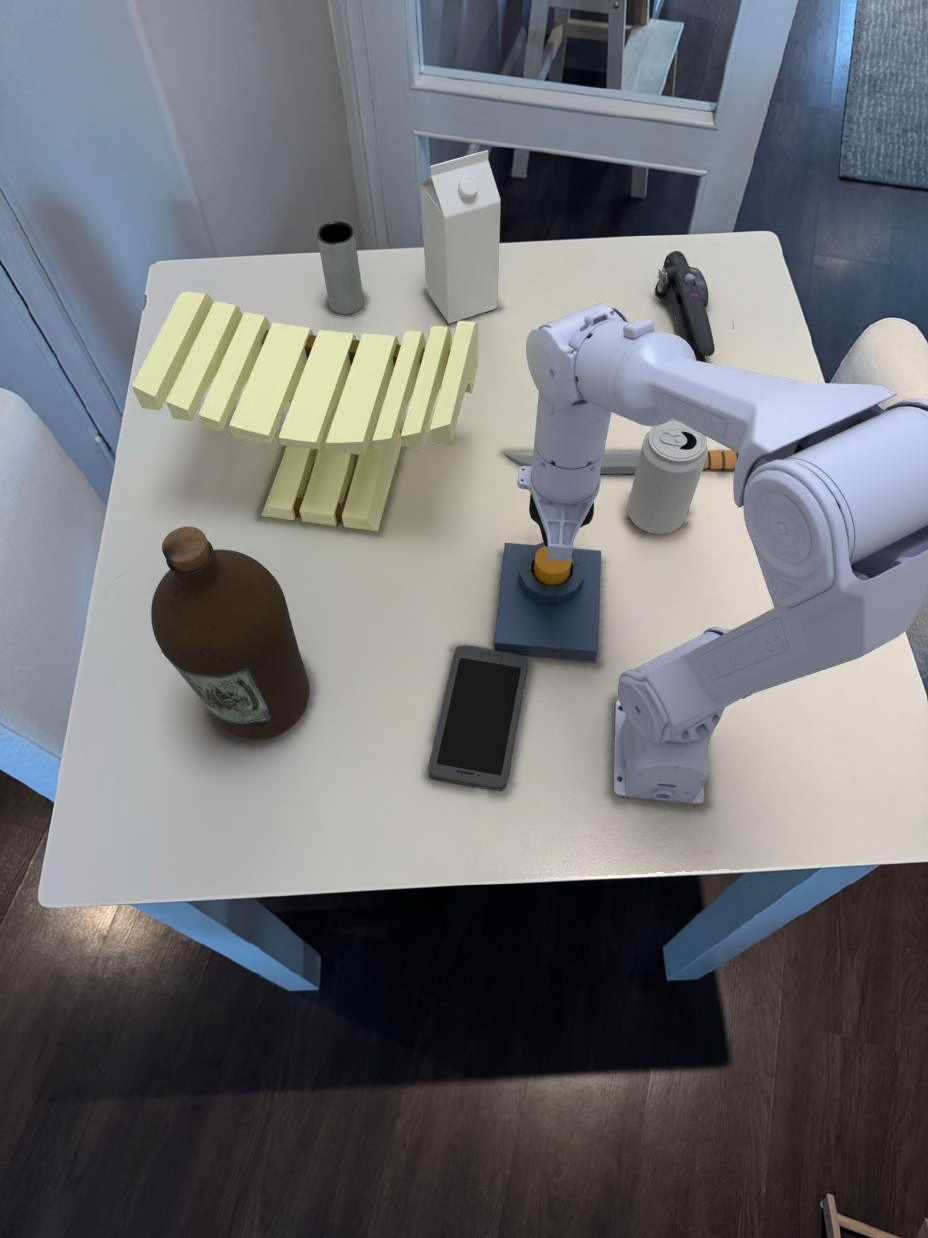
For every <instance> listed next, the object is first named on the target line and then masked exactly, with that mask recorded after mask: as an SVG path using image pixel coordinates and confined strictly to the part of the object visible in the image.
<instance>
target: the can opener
mask: <svg viewBox="0 0 928 1238" xmlns="http://www.w3.org/2000/svg"><path fill="white" fill-rule="evenodd" d="M656 278H657V279H659V280H658V281H657V283H656V285H655V288H654V295H655V296H656V297H657V299H658V300H660V301H661V302H664V303H665V304H668V305H669V306H670V308H671V310H672V313H673V315H674V320H675V323H676V327H677V331H678V334H679V335H678V336H679V337H681V338H682V339H684V340H685V341H686V342H687V343H688V344H689V345H690V347H691V348H692V350H693V352H694V354H695V357H696V361H700V362H705V363H707V359H706V358H707V357H711V356H712V355H714V353H715V352H716V351H715V350H716V348H715V341H714V336H713V331H712V327H711V323H710V319H709V315H708V313H707V308H706V307H708V304H709V288H708V284H707V281H706V278H705V277H704V274H703V273H702V271H701V270H700V269H699V268H697V267H694V266H690V265H689V262H688V261H687V258H686V256H685V255H684V253H683V252H682V251H680V250H674V251H670V253H668V254H667V255H666V257H665V259H664V262H663V266H662V269H660V268H659V269H658V275H657V276H656Z"/></svg>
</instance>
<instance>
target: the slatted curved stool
mask: <svg viewBox="0 0 928 1238" xmlns="http://www.w3.org/2000/svg"><path fill="white" fill-rule="evenodd" d="M171 307H172V308H171V310H170V311H169V313H168V315H167V316H166V319H165V321H164V322H163V325H162V326H161V329H160V331H159V332H158V334H157V336H156V338H155V340H154V342H153V344H152V346H151V347H150V350H149V351H148V354H147V355H146V357H145V359H144V361H143V363H142V365H141V366H140V369H139V370H138V373H137V375H136V376H135V379H134V381H133V383H132V384H131V388H132V390H133V392H134V394H135V396H136V398H137V401H138V403H139V404H140V407H141V409H148V410H156V411H161V410H162V409H163V407H164V404H165V403H166V405H167V408H168V410H169V412H170V415H171V418H172V419H174V420H181V421H191V422H192V421H193V419H194V417H195V415H196V412H197V411H198V409H199V407H200V405H201V402H202V400H203V398H204V396H205V395H206V397H205V398H204V401H203V403H202V405H201V407H200V410H199V412H198V414H197V415H198V418H199V420H200V423H201V426H202V428H203V430H210V431H219V432H223V431H224V428H225V426H226V424H227V421H228V419H229V417H230V415H231V413H232V410H233V409H234V406H235V404H236V402H237V400H238V398H239V396H240V394H241V396H240V399H239V401H238V403H237V406H236V408H235V410H234V412H233V415H232V417H231V420H230V422H229V424H228V426H229V429H230V432H231V435H232V437H233V440H237V441H238V440H240V441H246V442H247V441H248V442H256V443H262V444H272V443H273V439H274V438H275V434H276V433H277V432H276V431H277V430H278V427H279V425H280V422H281V420H282V418H283V415H284V413H285V411H286V409H287V406H288V405H289V408H288V411H287V413H286V416H285V419H284V421H283V424H282V426H281V429H280V432H279V435H278V438H277V439H278V441H279V445H280V446H286V448H285V451H284V453H283V456H282V458H281V462H280V465H279V467H278V470H277V473H276V475H275V477H274V481H273V483H272V486H271V488H270V491H269V494H268V496H267V499H266V502H265V504H264V508H263V510H262V513H261V517H264V518H271V519H272V518H273V519H280V520H287V521H295V519H296V517H300V518H301V521H302V523H310V524H319V525H324V526H325V525H326V526H332V527H336V526H337V524H338V523H342V525H343V527H344V528H347V529H356V530H364V531H371V532H376V533H377V532H379V528H380V525H381V521H382V517H383V515H384V510H385V506H386V503H387V499H388V496H389V492H390V489H391V485H392V481H393V478H394V474H395V470H396V466H397V463H398V459H399V456H400V453H401V449H402V448H410V449H418V450H422V448H423V446H424V441H425V437H426V434H427V431H428V427H429V423H430V419H431V416H432V412H433V409H434V406H435V403H436V406H435V409H434V413H433V417H432V421H431V424H430V429H429V435H430V444H435V445H441V446H449V447H451V446H452V443H453V439H454V435H455V430H456V426H457V423H458V420H459V419H458V418H459V415H460V412H461V407H462V404H463V401H464V397H465V393H468V394H472V393H473V389H474V386H475V381H476V376H477V372H478V368H479V324H478V322H477V321H476V322H474V321H466V320H459V321H457V324H456V327H455V331H454V334H453V339H452V331H451V328H450V327H449V326H441V325H431V326H430V331H429V334H428V337H427V342H426V337H425V334H424V331H417V330H405V331H404V334H403V338H402V341H401V344H400V341H399V339H398V336H397V335H389V334H375V333H373V334H372V333H362V334H361V336H360V339H357V337H356V334H355V333H354V332H345V331H335V330H326V329H318V331H317V334H315V335H314V332H313V329H312V328H311V327H308V326H307V327H305V326H299V325H294V324H286V323H281V322H272V323H270V321H269V319H268V317H267V316H266V315H264V314H258V313H253V312H242V309H241V308H240V307H239V305H238V304H234V303H229V302H221V301H220V302H219V301H214V300H213V297H211V296H210V295H209V294H208V293H204V292H198V291H197V292H196V291H183V292H181V293H180V294H179V295H178V296H177V298H176V299H175V302H174V303H173V306H171ZM210 385H211V386H210ZM208 389H209V390H208ZM207 391H208V392H207ZM206 393H207V394H206ZM436 400H437V401H436ZM407 408H408V409H407ZM406 410H407V413H406ZM405 414H406V416H405ZM404 416H405V419H404ZM403 420H405V421H404V423H403ZM402 423H403V426H402ZM401 426H402V431H401ZM354 468H355V469H354ZM353 471H354V473H353ZM352 475H353V476H352ZM351 479H352V480H351ZM350 482H351V483H350ZM349 484H350V487H349ZM348 488H349V490H348ZM347 491H348V494H347ZM346 494H347V497H346ZM345 497H346V502H345V503H344V501H345Z"/></svg>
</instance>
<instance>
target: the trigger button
mask: <svg viewBox="0 0 928 1238" xmlns="http://www.w3.org/2000/svg"><path fill="white" fill-rule="evenodd" d="M547 548H548V547H546V546H543V547H542V548H540V549H539V550H538V551H537V553H536V555H535V563H534V574H535V576H536V578H537V579H538V580H539V581H540V582H542V583H543V584H546V585H551V586H554V585H559V584H562V583H563V582H565V581H566V580H567V579H568V577H569V574H570V569H571V563H572V558H571V560H570V561H565V560H563V561H562V560H553V559H547Z"/></svg>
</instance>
